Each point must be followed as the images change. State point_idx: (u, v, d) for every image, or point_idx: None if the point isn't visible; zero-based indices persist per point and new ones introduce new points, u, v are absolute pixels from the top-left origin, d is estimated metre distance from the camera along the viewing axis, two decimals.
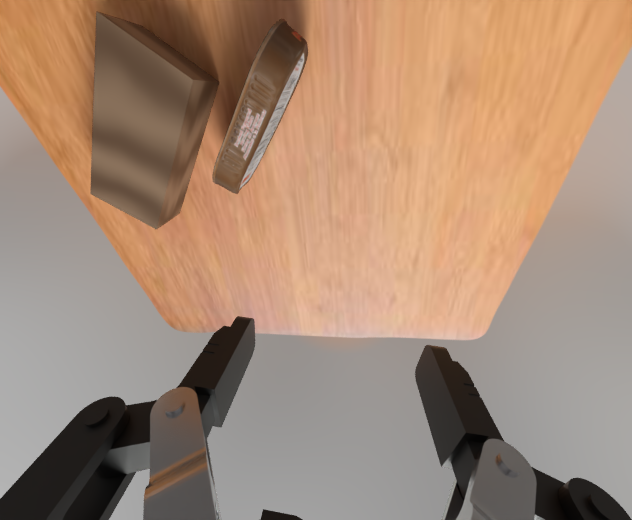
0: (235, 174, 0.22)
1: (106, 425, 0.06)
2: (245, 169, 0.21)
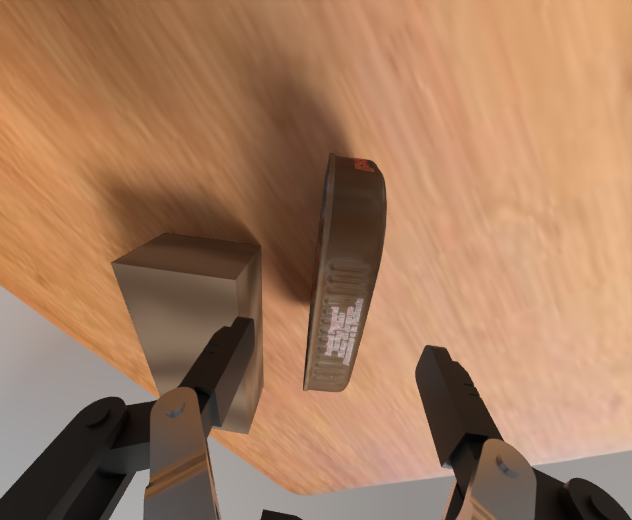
0: (337, 384, 0.13)
1: (106, 425, 0.06)
2: (350, 373, 0.13)
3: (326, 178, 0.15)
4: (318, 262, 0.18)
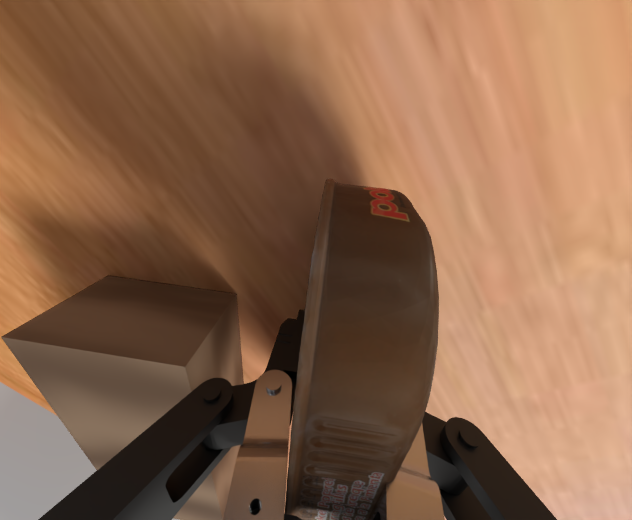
0: None
1: (221, 402, 0.07)
2: None
3: None
4: None
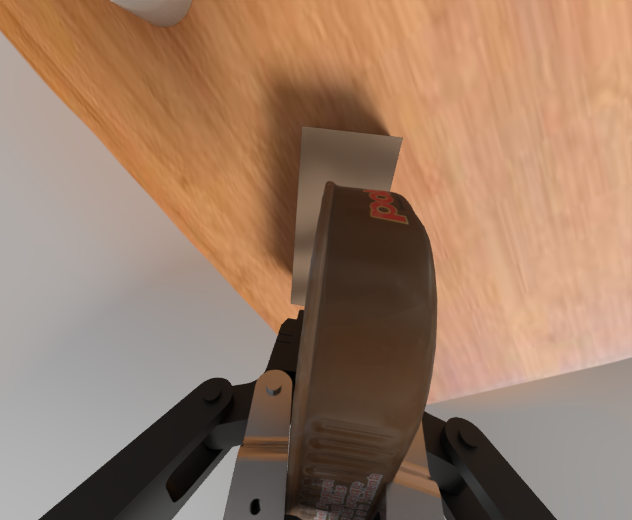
0: None
1: (221, 402, 0.07)
2: None
3: None
4: None
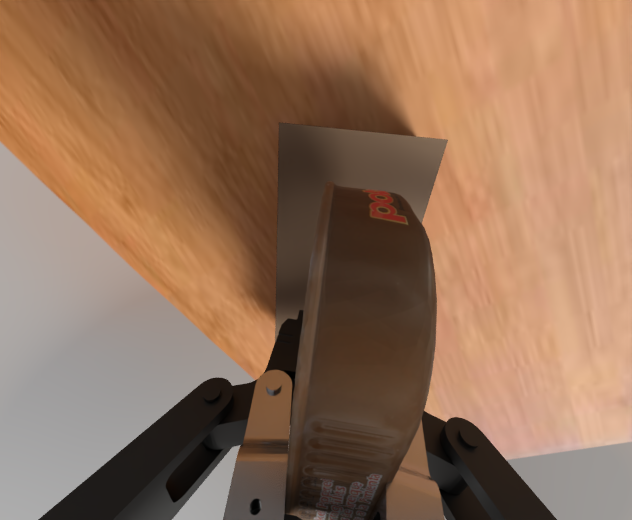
0: None
1: (221, 402, 0.07)
2: None
3: None
4: None
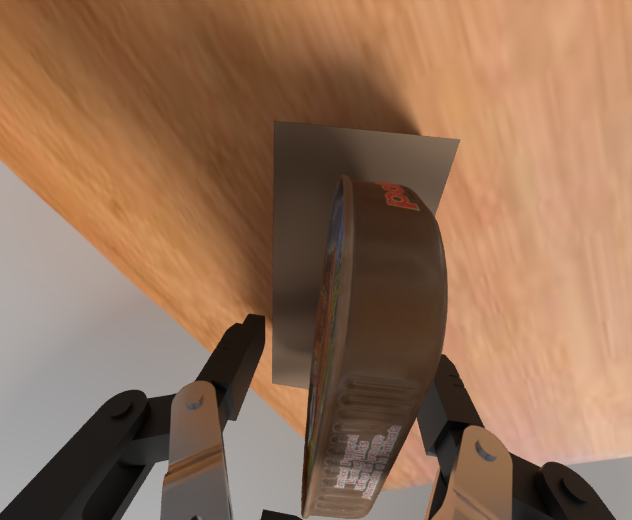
0: (353, 517, 0.09)
1: (130, 417, 0.07)
2: (372, 504, 0.09)
3: (334, 205, 0.11)
4: (322, 308, 0.14)
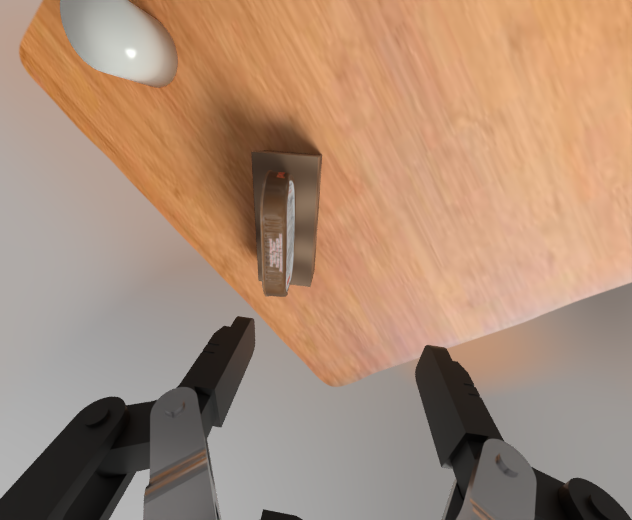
0: (279, 285, 0.26)
1: (106, 425, 0.06)
2: (284, 278, 0.26)
3: None
4: None
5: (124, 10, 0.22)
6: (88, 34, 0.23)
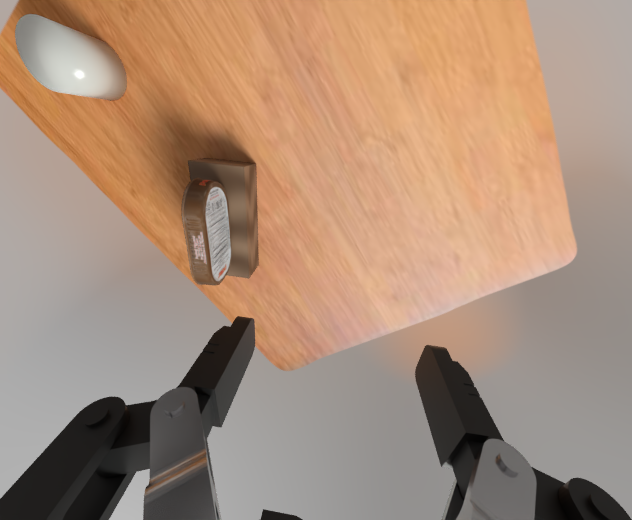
0: (205, 274, 0.31)
1: (106, 425, 0.06)
2: (209, 269, 0.31)
3: None
4: None
5: (68, 42, 0.26)
6: (40, 60, 0.27)
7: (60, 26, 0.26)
